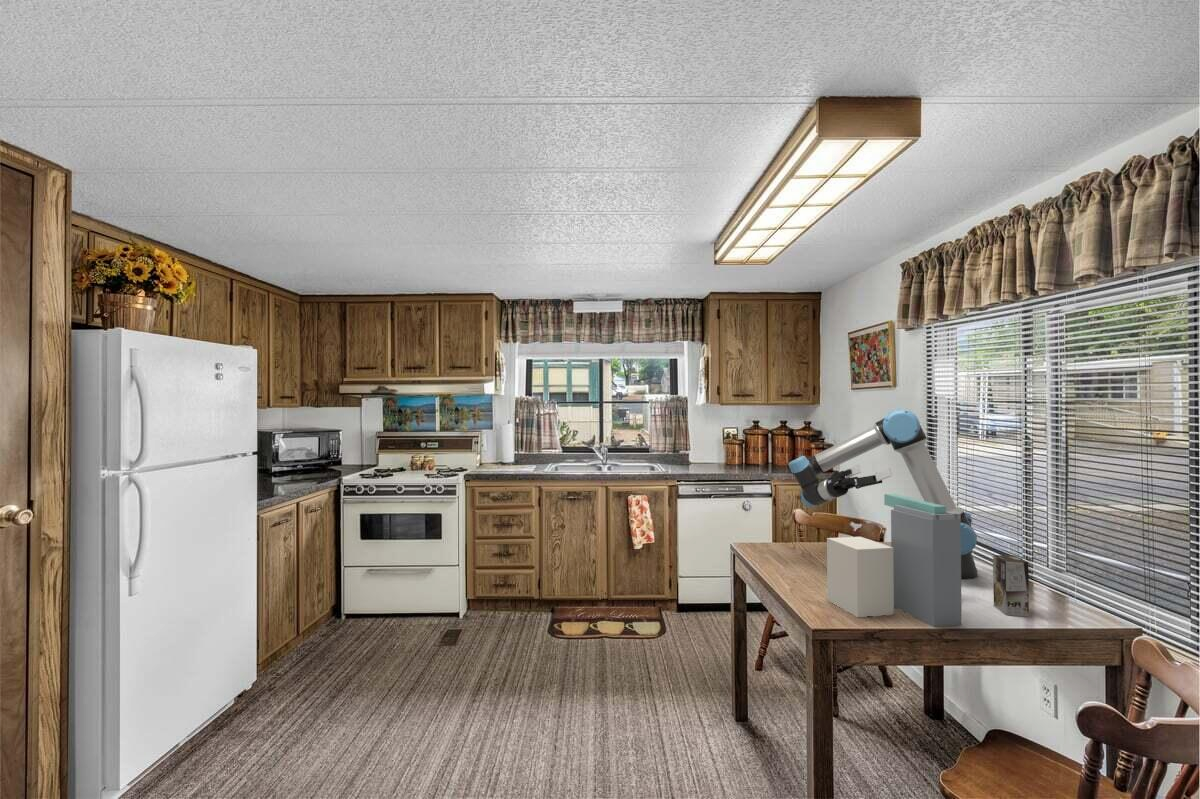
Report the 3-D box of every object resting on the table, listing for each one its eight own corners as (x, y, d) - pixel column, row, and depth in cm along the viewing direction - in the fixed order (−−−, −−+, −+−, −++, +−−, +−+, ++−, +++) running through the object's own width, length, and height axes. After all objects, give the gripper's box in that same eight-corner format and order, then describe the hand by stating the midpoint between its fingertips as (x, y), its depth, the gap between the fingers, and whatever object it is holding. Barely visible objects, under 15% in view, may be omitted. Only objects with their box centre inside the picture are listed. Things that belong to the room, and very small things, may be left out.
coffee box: (1030, 617, 180) (1029, 562, 180) (1005, 615, 181) (1005, 561, 182) (1015, 607, 189) (1015, 554, 189) (992, 605, 190) (992, 553, 190)
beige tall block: (861, 598, 198) (860, 536, 198) (893, 614, 182) (893, 547, 182) (827, 600, 195) (826, 538, 196) (857, 617, 180) (857, 549, 180)
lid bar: (894, 504, 200) (894, 493, 200) (946, 518, 175) (946, 506, 175) (884, 504, 200) (884, 494, 200) (934, 518, 174) (934, 506, 175)
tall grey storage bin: (917, 604, 191) (916, 504, 192) (961, 624, 174) (960, 513, 174) (891, 606, 190) (890, 504, 190) (933, 626, 172) (932, 514, 172)
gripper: (862, 500, 231) (905, 483, 213) (807, 495, 223) (848, 477, 205) (857, 481, 234) (900, 463, 216) (804, 475, 226) (844, 456, 208)
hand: (875, 470), depth 210 cm, fingers open, 13 cm apart
